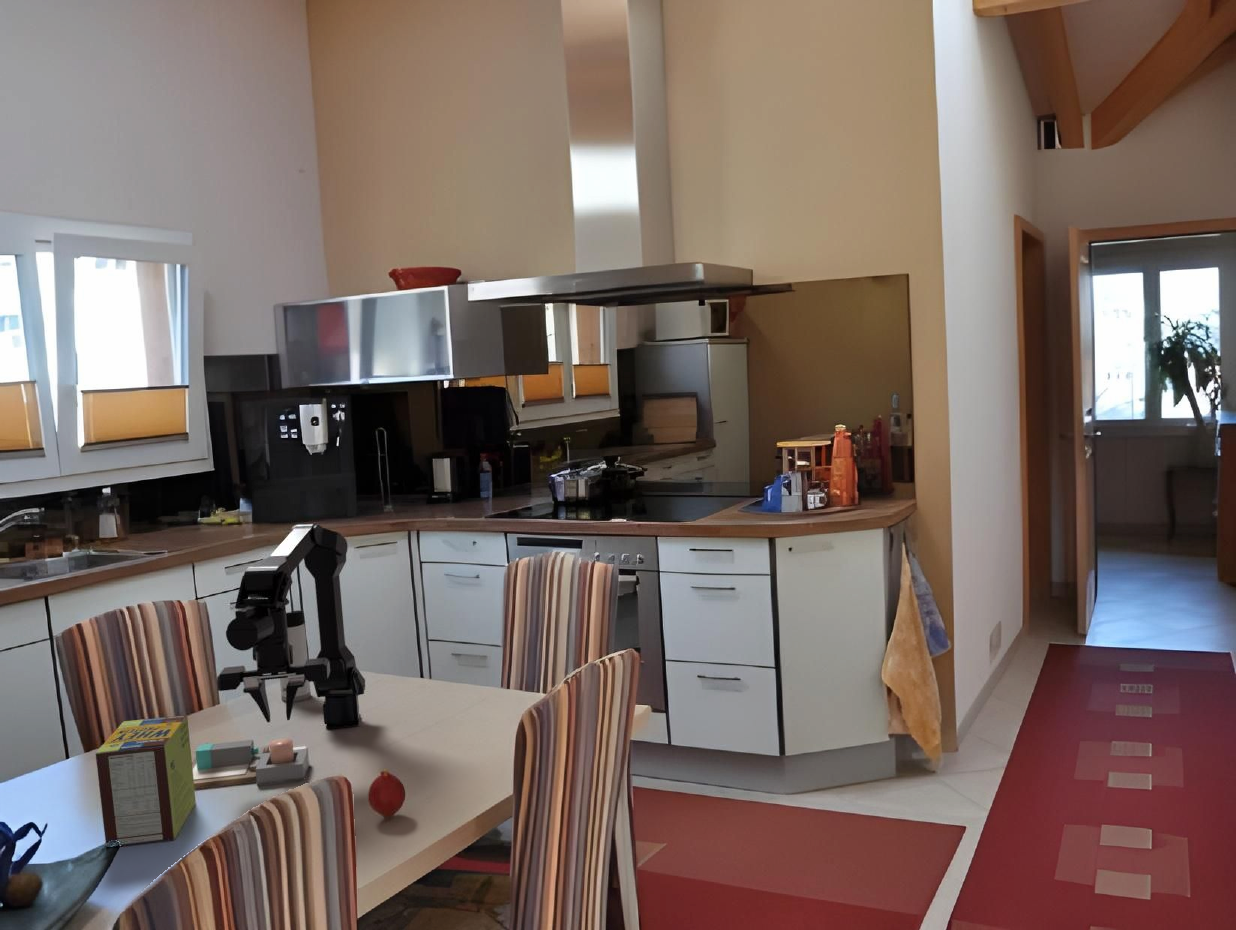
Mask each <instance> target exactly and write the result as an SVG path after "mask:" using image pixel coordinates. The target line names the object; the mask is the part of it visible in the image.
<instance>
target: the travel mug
mask: <svg viewBox="0 0 1236 930" xmlns="http://www.w3.org/2000/svg"><path fill="white" fill-rule="evenodd" d="M304 615H305V613H304V610H301V609H300V610H292V611H289V612H286V618H287V629H288V640H289V644H290V645H292V646H293V664H291V666H301V665H305V663H306V660H307V659H309V658H308V649H307V648H308V647H307V635H306V626H305V625H306V623H305V617H304ZM281 673H286V672H281ZM288 682H289V680H288V678H279V685H280V692H281V693H280V695H281V696H280V697H281V700H282V701H283V702H285V703H286V686H287V684H288ZM310 683H311V682H309V681H308V680H306V682H305V684H304V686H303V687H299V688H298V690H297V693H296V695H295V699H294V703H295V702H300V701H305V700H307V699H309V698H310V697H311V695H312V694H311V693H312V692H311V684H310Z"/></svg>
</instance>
